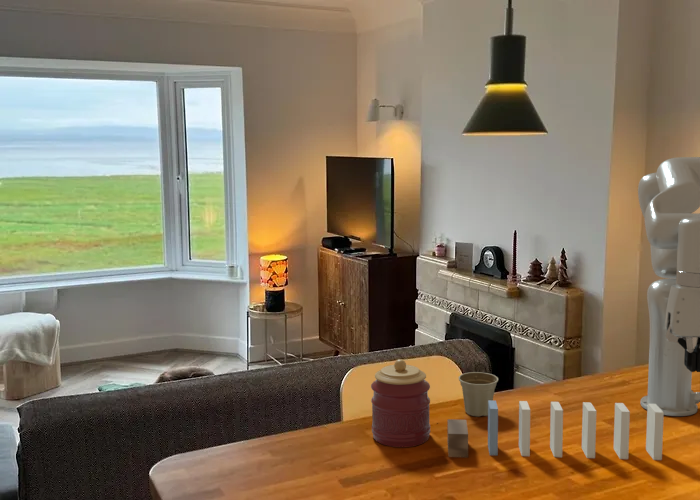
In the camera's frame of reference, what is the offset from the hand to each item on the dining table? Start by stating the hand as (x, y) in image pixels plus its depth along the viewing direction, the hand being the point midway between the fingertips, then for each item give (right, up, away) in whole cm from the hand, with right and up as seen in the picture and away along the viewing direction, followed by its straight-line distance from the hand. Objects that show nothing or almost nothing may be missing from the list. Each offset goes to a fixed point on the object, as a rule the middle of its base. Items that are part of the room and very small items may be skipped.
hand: (693, 369), depth 138 cm
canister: (-58, -18, +15) cm, 62 cm away
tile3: (-19, -18, +5) cm, 27 cm away
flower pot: (-38, -16, +29) cm, 50 cm away
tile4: (-26, -18, +5) cm, 32 cm away
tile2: (-13, -18, +4) cm, 23 cm away
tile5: (-32, -18, +6) cm, 38 cm away
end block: (-46, -18, +8) cm, 50 cm away
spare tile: (-39, -18, +7) cm, 43 cm away
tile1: (-7, -18, +3) cm, 19 cm away
